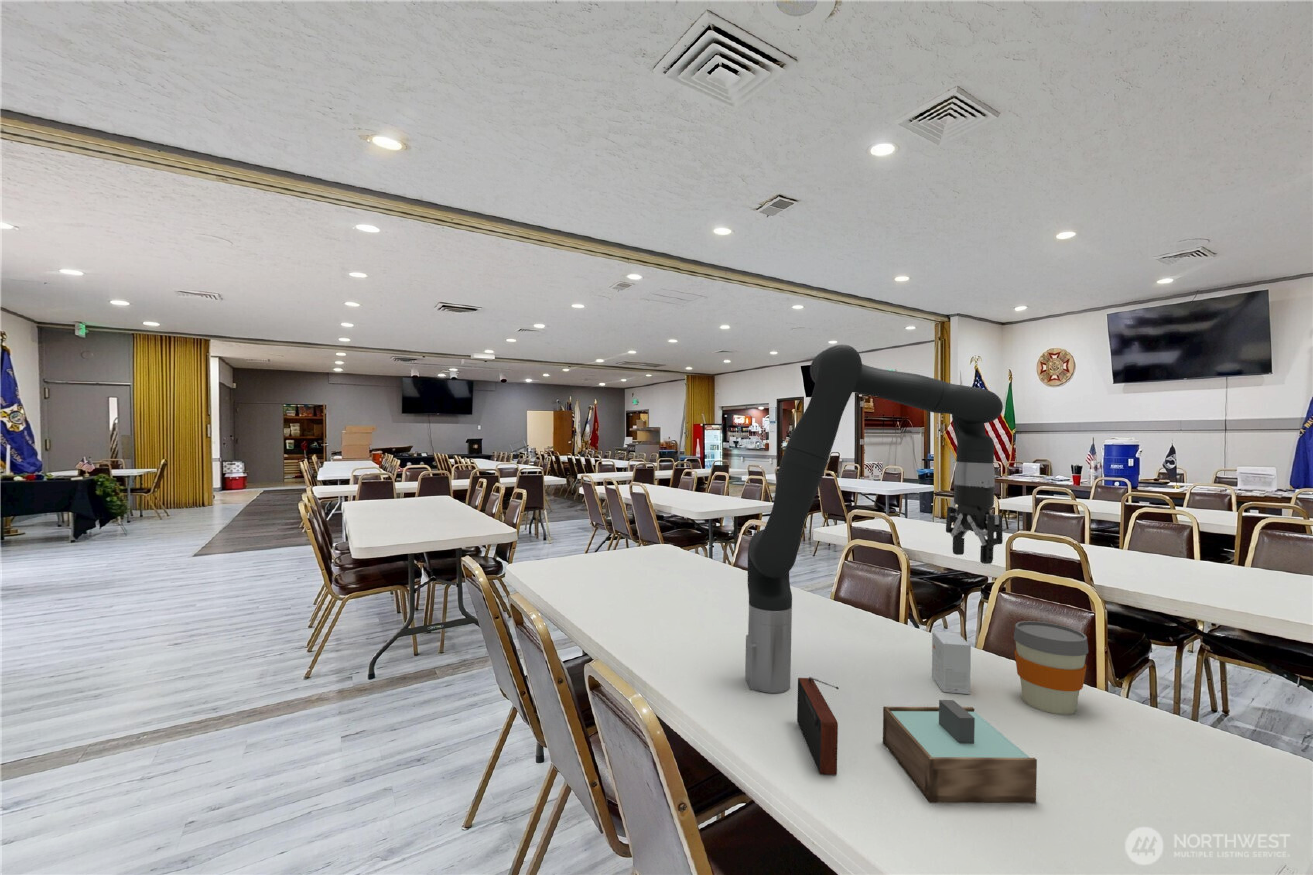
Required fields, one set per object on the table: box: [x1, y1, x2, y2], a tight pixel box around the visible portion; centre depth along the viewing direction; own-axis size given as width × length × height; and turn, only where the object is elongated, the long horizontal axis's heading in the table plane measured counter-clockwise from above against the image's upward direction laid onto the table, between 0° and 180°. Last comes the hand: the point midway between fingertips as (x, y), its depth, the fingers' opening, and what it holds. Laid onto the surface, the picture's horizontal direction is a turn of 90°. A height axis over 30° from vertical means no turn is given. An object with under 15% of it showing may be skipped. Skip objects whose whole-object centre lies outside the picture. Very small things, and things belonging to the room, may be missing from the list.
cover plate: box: [891, 699, 1031, 758], centre depth 90 cm, size 15×14×5 cm
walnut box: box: [882, 706, 1038, 804], centre depth 90 cm, size 16×16×6 cm
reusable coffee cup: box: [1013, 620, 1089, 716], centre depth 114 cm, size 12×13×15 cm
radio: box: [796, 676, 839, 776], centre depth 95 cm, size 19×3×15 cm, turn 178°
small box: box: [931, 630, 972, 695], centre depth 122 cm, size 8×6×10 cm
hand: (971, 558), depth 120 cm, fingers open, 8 cm apart
